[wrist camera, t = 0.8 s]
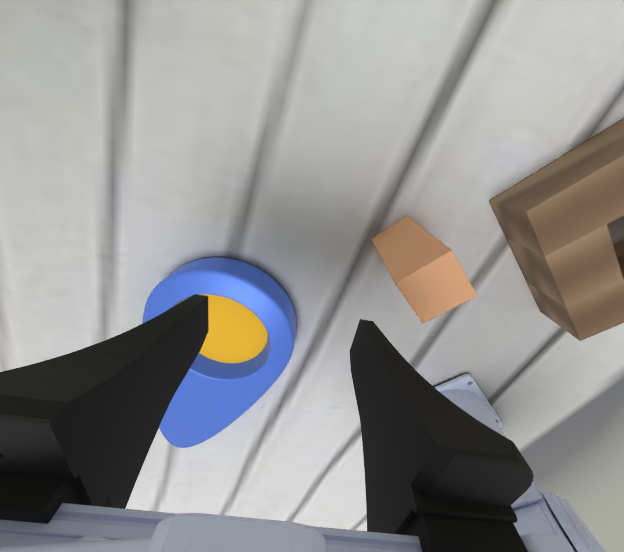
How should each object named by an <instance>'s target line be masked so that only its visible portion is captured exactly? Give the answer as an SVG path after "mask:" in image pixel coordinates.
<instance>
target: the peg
mask: <svg viewBox="0 0 624 552" xmlns="http://www.w3.org/2000/svg"><path fill="white" fill-rule="evenodd" d="M372 241H373V243H374V245H375V247H376V249H377V250H378V252H379V254H380V256H381V258H382V260H383V262H384V264H385V265H386V267H387V269H388V271H389V273H390V275H391V277H392V279H393V280H394V282H395V284H396V285H397V287H398V288H399V290H400V291H401V293H402V294H403V296H404V297H405V299H406V300H407V301H408V303H409V304H410V306H411V307H412V309H413V310H414V312H415V313H416V315H417V316H418V317H419V319H420V320H421V322H422V323H425V322H427V321H429V320H431V319H433V318H435V317H437V316H439V315H441V314H443V313H444V312H446V311H448V310H450V309H452V308H454V307H456V306H458V305H460V304H462V303H464V302H466V301H468V300H470V299H472V298H474V297H476V296H477V294H476V292H475V291H474V289H473V287H472V285H471V283H470V282H469V280H468V278H467V276H466V275H465V273H464V271H463V269H462V267H461V266H460V264H459V262H458V260H457V259H456V257H455V255H454V253H453V251H452V250H451V249H450V248H448V247H447V246H446V245H444V244H443V243H442V242H441V241H439V240H438V239H437V238H435V237H434V236H433V235H431V234H430V233H429V232H428V231H426V230H425V229H424V228H422V227H421V226H420V225H418V224H417V223H416V222H415V221H413V220H412V219H411V218H409V217H408V216H405V217H404V218H402V219H401V220H399V221H398V222H396V223H395V224H393V225H392V226H390V227H389V228H387V229H386V230H384V231H383V232H381V233H380V234H378V235H377V236H375V237H373V238H372Z"/></svg>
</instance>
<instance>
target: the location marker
mask: <svg viewBox="0 0 624 552" xmlns="http://www.w3.org/2000/svg"><path fill="white" fill-rule="evenodd" d="M194 294H198V295H204V296H208V321H209V331H208V334H207V336H206V338H205V341H204V343H203V345H202V348H201V350H200V352H199V354H198V355H197V357H196V359H195V360H194V362H193V364H192V366H191V367H190V369H189V371H188V372H187V374H186V376H185V377H184V379H183V381H182V382H181V384H180V386H179V388H178V389H177V391H176V393H175V395H174V396H173V398H172V400H171V402H170V404H169V406H168V408H167V411H166V413H165V415H164V417H163V419H162V421H161V424H160V426H159V428H160V430H161V432H162V434H163V435H164V437H165V438H166V439H167V441H168V442H169V443H171V444H172V445H174V446H176V447H180V448H186V447H191V446H194V445H197V444H199V443H202V442H204V441H206V440H207V439H209V438H211V437H213V436H214V435H216V434H217V433H219V432H220V431H222V430H223V429H224V428H226V427H227V426H228V425H230V424H231V423H232V422H234V421H235V420H236V419H237V418H238V417H240V416H241V415H242V414H243V413H244V412H245V411H247V410H248V409H249V408H250V407H251V406H252V405H253V404H254V403H255V402H256V401H257V400H258V399H259V398H260V397H261V396H263V395H264V393H265V392H266V391H267V390H268V389H269V388H270V387H271V386H272V384H273V383H274V382H275V381H276V380H277V378H278V377H279V376H280V375H281V373H282V372H283V370H284V369H285V367H286V366H287V364H288V362H289V360H290V358H291V355H292V352H293V347H294V341H295V335H296V328H297V323H296V315H295V311H294V308H293V305H292V303H291V301H290V299H289V297H288V296H287V294H286V293H285V291H284V290H283V289H282V288H281V286H280V285H279V284H278V283H277V282H276V281H275V280H274V279H272V278H271V277H270V276H269V275H267V274H266V273H264V272H263V271H261V270H260V269H258V268H256V267H254V266H252V265H249V264H247V263H244V262H241V261H238V260H234V259H229V258H218V257H213V258H203V259H198V260H194V261H191V262H189V263H187V264H184V265H183V266H181V267H179V268H178V269H176V270H175V271H174V272H173V273H171V274H170V275H169V276H168V277H167V278H165V279H164V280H163V281H162V282H160V283H159V284H158V285H157V286H156V287H155V288H154V290H153V291H152V292H151V294H150V296H149V297H148V300H147V302H146V305H145V309H144V315H143V323H145V322H147V321H149V320H151V319H152V318H154V317H156V316H158V315H160V314H162V313H163V312H165V311H167V310H169V309H170V308H172V307H174V306H175V305H177V304H179V303H180V302H182V301H184V300H185V299H187V298H189V297H191V296H192V295H194Z"/></svg>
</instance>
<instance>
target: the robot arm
mask: <svg viewBox="0 0 624 552" xmlns="http://www.w3.org/2000/svg"><path fill="white" fill-rule="evenodd" d="M208 331H209V321H208V296H204V295H198V294H194V295H192V296H191V297H189V298H187V299H185V300H184V301H182V302H180V303H179V304H177V305H175V306H174V307H172V308H170V309H169V310H167V311H165V312H163V313H162V314H160V315H158V316H156V317H154V318H152V319H151V320H149V321H147V322H145V323H143V324H141V325H139V326H137V327H135V328H133V329H131V330H129V331H127V332H124V333H122V334H120V335H118V336H115V337H113V338H111V339H108V340H106V341H103V342H100V343H98V344H95V345H92V346H89V347H87V348H84V349H81V350H78V351H75V352H72V353H69V354H66V355H63V356H60V357H57V358H53V359H50V360H46V361H43V362H39V363H36V364H32V365H28V366H24V367H20V368H16V369H12V370H8V371H4V372H0V552H605V550H604V549H603V547H602V546H601V545H600V543H599V542H598V540H597V539H596V538H595V536H594V535H593V534H592V532H591V531H590V529H589V528H588V527H587V525H586V524H585V523H584V521H583V520H582V519H581V517H580V516H579V515H578V513H577V512H576V511H575V510H574V508H573V507H572V506H571V505H570V503H569V502H568V501H567V500H566V499H563V498H561V497H559V496H557V495H556V494H555V493H553V492H549V493H545V494H543V493H542V492H541V491H540V489H539V488H538V487H537V485H536V483H535V482H534V480H533V472H532V470H531V468H530V467H529V465H528V464H527V462H526V461H525V459H524V458H523V456H522V455H521V453H520V452H519V450H518V449H517V447H516V446H515V444H514V443H513V442H512V441H511V440H509V439H507V438H506V436H505V435H504V433H503V432H502V430H501V429H502V428H503V427H504V425H503V423H502V422H501V420H500V419H499V417H498V416H497V414H496V413H495V411H494V410H493V408H492V407H491V405H490V404H489V402H488V400H487V399H486V397H485V396H484V394H483V393H482V391H481V390H480V388H479V387H478V385H477V384H476V382H475V381H474V379H473V378H472V376H471V375H470V374H464V375H462V376H459V377H457V378H455V379H452V380H450V381H448V382H445V383H443V384H441V385H438V386H436V387H433V386H432V385H431V384H430V383H429V382H428V381H426V380H425V379H424V378H423V377H422V376H421V375H420V374H419V373H418V372H417V371H416V370H415V369H414V368H413V367H412V366H411V365H410V364H409V363H408V362H407V361H406V360H405V359H404V358H403V357H402V356H401V355H400V353H399V352H398V351H397V350H396V349H395V348H394V346H393V345H392V344H391V343H390V342H389V341H388V339H387V338H386V337H385V336H384V334H383V333H382V332H381V331H380V329H379V328H378V327H377V326H376V325H375V323H374V322H373V321H368V320H361V319H360V322H359V325H358V328H357V331H356V334H355V337H354V340H353V343H352V346H351V349H350V363H351V373H352V379H353V384H354V389H355V395H356V400H357V405H358V410H359V415H360V422H361V431H362V441H363V453H364V467H365V484H366V503H367V532H366V531H356V530H345V529H334V528H324V527H313V526H308V525H303V524H299V523H294V522H287V521H276V520H266V519H255V518H244V517H234V516H223V515H213V514H202V513H182V514H174V513H164V512H153V511H142V510H132V509H125V508H126V505H127V503H128V500H129V498H130V495H131V492H132V490H133V487H134V485H135V482H136V480H137V477H138V475H139V472H140V470H141V468H142V465H143V463H144V460H145V458H146V456H147V453H148V451H149V448H150V446H151V444H152V442H153V439H154V437H155V435H156V433H157V430H158V428H159V426H160V424H161V421H162V419H163V417H164V415H165V413H166V411H167V408H168V406H169V404H170V402H171V400H172V398H173V396H174V395H175V393H176V391H177V389H178V388H179V386H180V384H181V382H182V381H183V379H184V377H185V376H186V374H187V372H188V371H189V369H190V367H191V366H192V364H193V362H194V360H195V359H196V357H197V355H198V354H199V352H200V350H201V348H202V345H203V343H204V341H205V338H206V336H207V334H208Z"/></svg>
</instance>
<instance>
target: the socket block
mask: <svg viewBox="0 0 624 552" xmlns="http://www.w3.org/2000/svg"><path fill="white" fill-rule="evenodd" d="M489 202H490V204H491V206H492V208H493V211H494V213H495V215H496V217H497V219H498V221H499V223H500V226H501V228H502V230H503V232H504V234H505V236H506V238H507V241H508V243H509V245H510V247H511V249H512V251H513V253H514V256H515V258H516V260H517V262H518V264H519V266H520V268H521V271H522V273H523V275H524V277H525V279H526V281H527V283H528V286H529V288H530V290H531V292H532V294H533V296H534V298H535V301H536V303H537V305H538V307H539V309H540V311H541V312H542V313H543V314H544V315H546V316H547V317H548V318H550V319H551V320H553V321H554V322H555V323H557V324H558V325H559V326H561V327H562V328H563V329H565V330H566V331H568V332H569V333H570V334H572V335H573V336H574V337H576V338H577V339H578V340H580V341H581V340H583V339H586V338H588V337H591V336H593V335H595V334H598V333H600V332H603V331H605V330H607V329H610V328H612V327H615V326H617V325H619V324H622V323H624V118H623V119H622V120H620V121H618V122H617V123H615V124H613V125H612V126H610V127H609V128H607V129H605V130H604V131H602V132H600V133H599V134H597V135H595V136H594V137H592V138H591V139H589V140H587V141H586V142H584V143H582V144H581V145H579V146H578V147H576V148H574V149H573V150H571V151H569V152H568V153H566V154H565V155H563V156H561V157H560V158H558V159H556V160H555V161H553V162H552V163H550V164H548V165H547V166H545V167H543V168H542V169H540V170H538V171H537V172H535V173H534V174H532V175H530V176H529V177H527V178H525V179H524V180H522V181H521V182H519V183H517V184H516V185H514V186H512V187H511V188H509V189H508V190H506V191H504V192H503V193H501V194H499V195H498V196H496V197H494V198H493V199H491V200H490V201H489Z"/></svg>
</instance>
